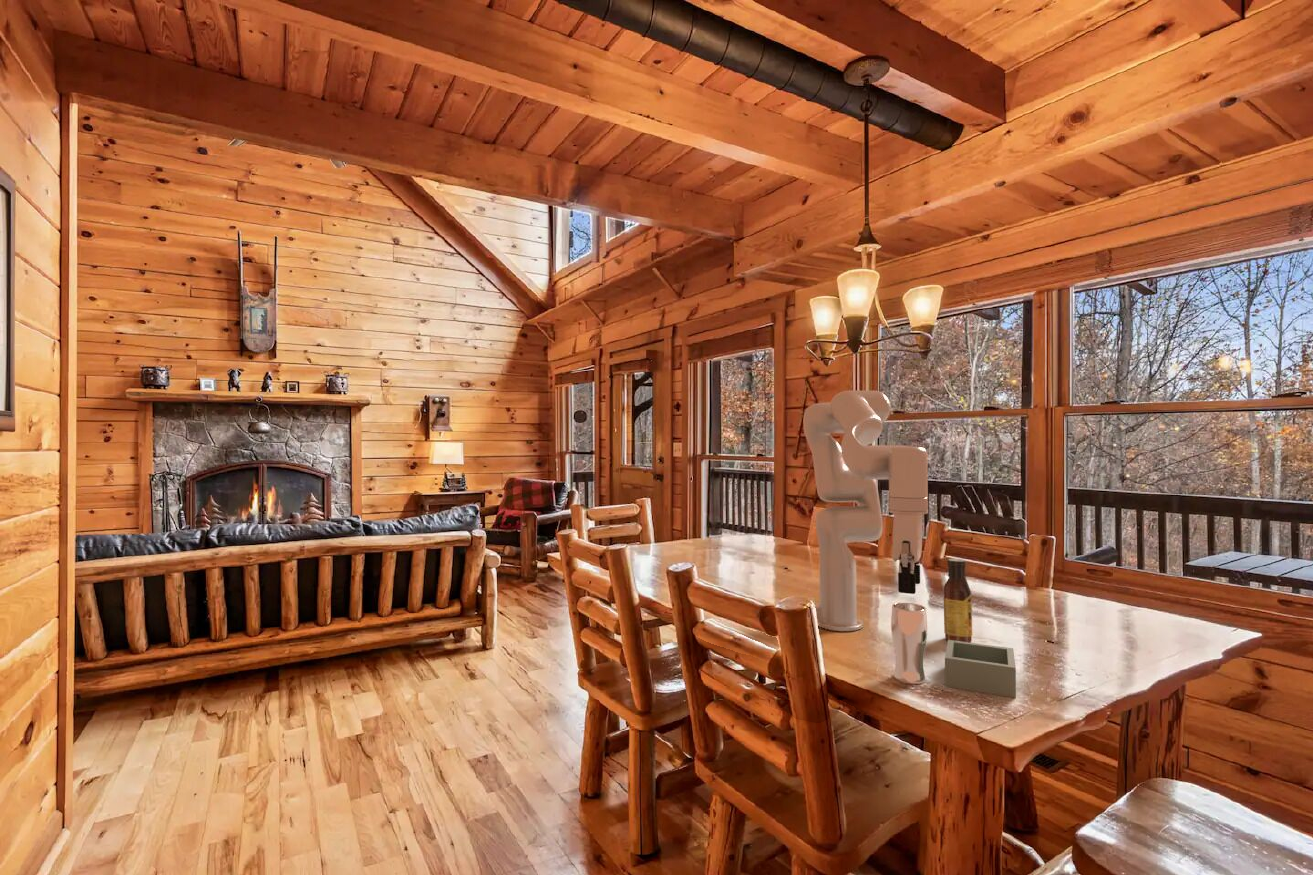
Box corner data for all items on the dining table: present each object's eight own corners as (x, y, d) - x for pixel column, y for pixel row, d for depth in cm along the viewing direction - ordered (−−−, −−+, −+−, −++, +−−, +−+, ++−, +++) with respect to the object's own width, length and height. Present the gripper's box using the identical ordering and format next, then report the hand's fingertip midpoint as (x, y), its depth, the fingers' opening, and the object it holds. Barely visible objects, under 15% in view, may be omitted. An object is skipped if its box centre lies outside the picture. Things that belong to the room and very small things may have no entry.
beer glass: (885, 672, 133) (885, 602, 133) (917, 671, 134) (916, 601, 134) (901, 685, 126) (900, 611, 126) (934, 684, 127) (933, 610, 127)
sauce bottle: (975, 645, 150) (975, 563, 150) (947, 644, 151) (947, 562, 151) (967, 637, 156) (967, 557, 156) (941, 635, 158) (940, 557, 158)
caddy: (945, 686, 126) (944, 657, 126) (948, 666, 137) (948, 639, 137) (1015, 697, 120) (1015, 667, 120) (1013, 675, 131) (1013, 648, 131)
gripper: (894, 501, 139) (895, 578, 139) (883, 508, 124) (884, 595, 124) (931, 502, 136) (932, 581, 136) (924, 510, 121) (925, 599, 120)
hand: (909, 587), depth 130 cm, fingers open, 9 cm apart
